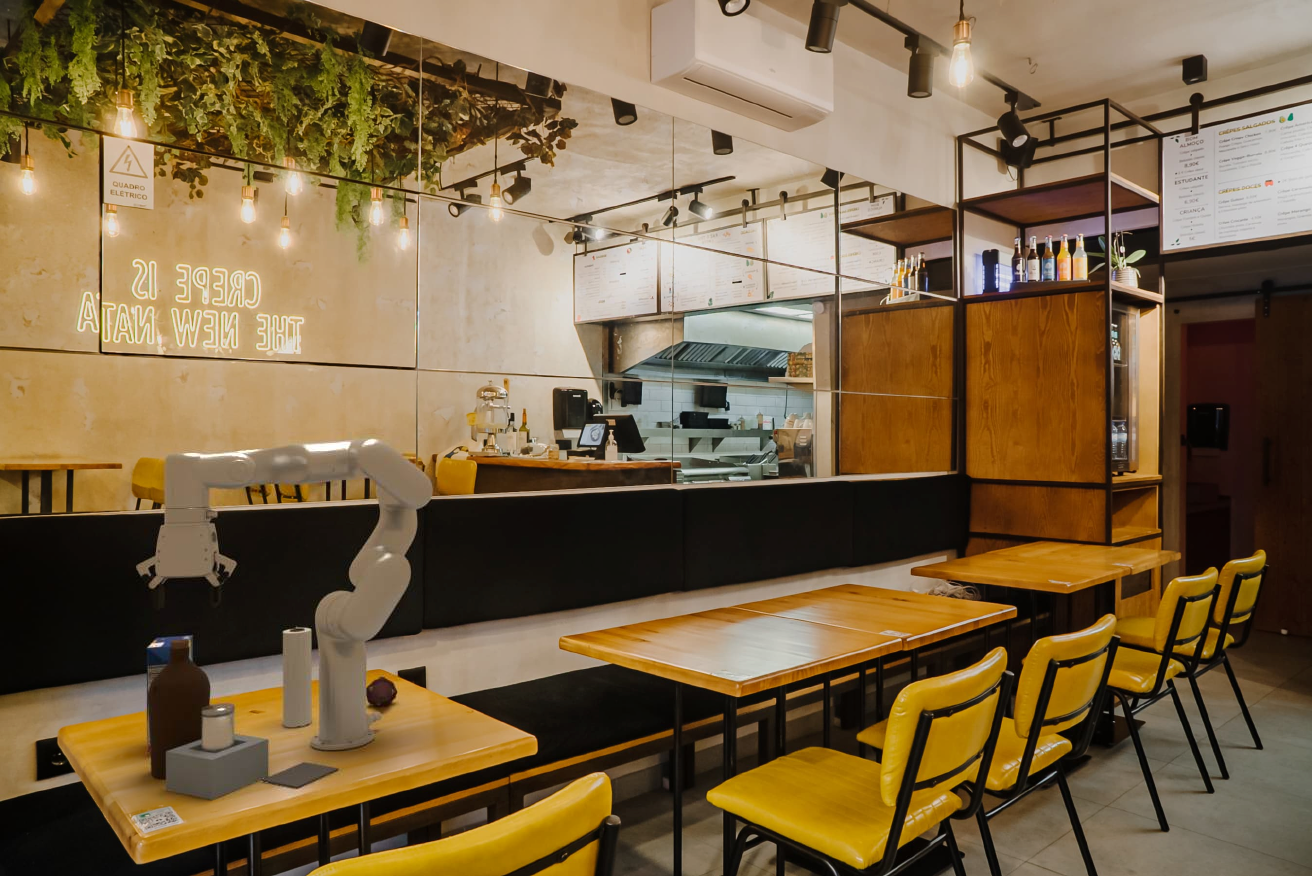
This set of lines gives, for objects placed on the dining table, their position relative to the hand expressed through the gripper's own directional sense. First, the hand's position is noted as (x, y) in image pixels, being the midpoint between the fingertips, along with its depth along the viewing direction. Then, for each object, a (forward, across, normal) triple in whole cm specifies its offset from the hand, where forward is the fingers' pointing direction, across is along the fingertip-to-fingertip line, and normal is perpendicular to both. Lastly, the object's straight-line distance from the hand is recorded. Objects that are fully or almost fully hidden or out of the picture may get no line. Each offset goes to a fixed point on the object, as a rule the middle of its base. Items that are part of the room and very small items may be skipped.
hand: (186, 607), depth 161 cm
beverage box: (+32, +10, -20) cm, 40 cm away
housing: (+32, -7, +4) cm, 33 cm away
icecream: (+32, -29, -42) cm, 61 cm away
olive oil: (+32, +3, -5) cm, 33 cm away
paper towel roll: (+32, -13, -32) cm, 47 cm away
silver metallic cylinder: (+32, -7, +4) cm, 33 cm away
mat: (+32, -21, +3) cm, 39 cm away
